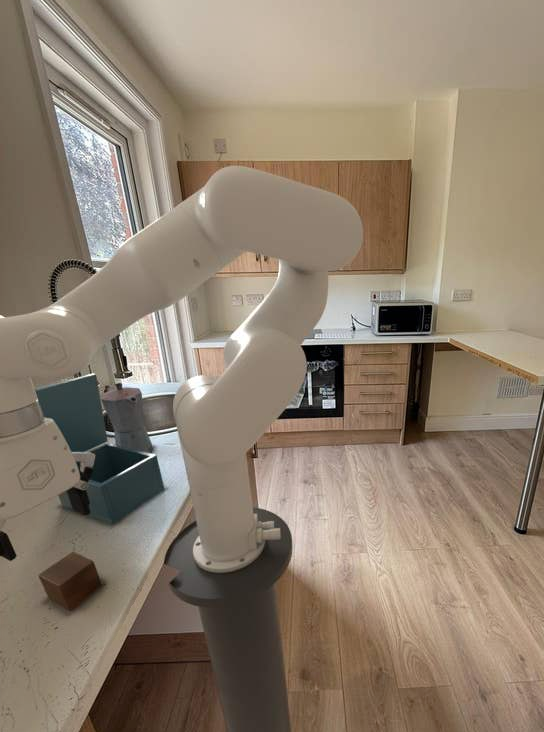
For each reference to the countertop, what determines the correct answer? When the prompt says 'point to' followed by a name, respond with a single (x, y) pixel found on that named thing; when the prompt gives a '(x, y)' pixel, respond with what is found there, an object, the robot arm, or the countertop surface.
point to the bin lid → (75, 411)
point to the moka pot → (127, 417)
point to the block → (70, 580)
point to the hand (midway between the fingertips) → (48, 532)
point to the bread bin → (119, 482)
